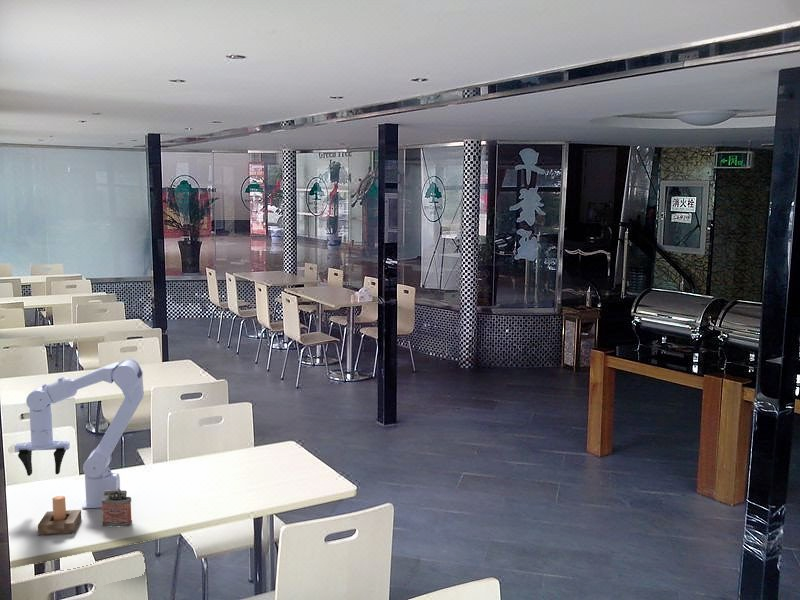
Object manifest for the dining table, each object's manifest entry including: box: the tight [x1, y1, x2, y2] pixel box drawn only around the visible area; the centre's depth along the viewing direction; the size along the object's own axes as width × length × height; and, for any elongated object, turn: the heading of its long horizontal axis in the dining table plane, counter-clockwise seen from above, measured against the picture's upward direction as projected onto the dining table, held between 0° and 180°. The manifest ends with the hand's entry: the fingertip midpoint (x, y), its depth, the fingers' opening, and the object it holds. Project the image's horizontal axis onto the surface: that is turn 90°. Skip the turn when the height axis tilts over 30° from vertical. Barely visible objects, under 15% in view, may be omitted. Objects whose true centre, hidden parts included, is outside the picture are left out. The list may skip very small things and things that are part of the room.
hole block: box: [37, 509, 82, 537], centre depth 209 cm, size 9×9×3 cm
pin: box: [51, 495, 67, 521], centre depth 209 cm, size 3×3×8 cm
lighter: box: [101, 488, 133, 528], centre depth 212 cm, size 8×3×10 cm, turn 92°
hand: (43, 473), depth 222 cm, fingers open, 7 cm apart
